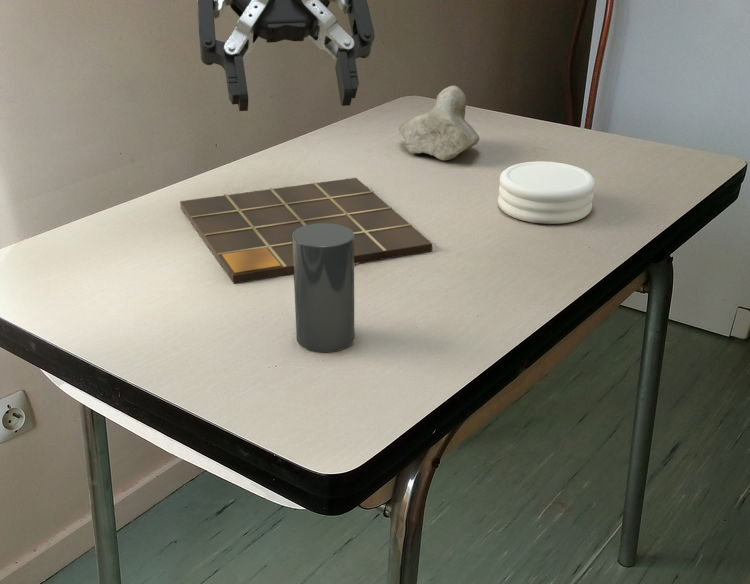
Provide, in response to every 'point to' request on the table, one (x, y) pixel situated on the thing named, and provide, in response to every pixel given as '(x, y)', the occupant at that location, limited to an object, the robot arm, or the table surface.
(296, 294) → the glossy charcoal cylinder
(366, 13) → the robot arm
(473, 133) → the stone
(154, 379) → the table surface
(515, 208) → the white ribbed disc
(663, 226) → the table surface
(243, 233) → the board
